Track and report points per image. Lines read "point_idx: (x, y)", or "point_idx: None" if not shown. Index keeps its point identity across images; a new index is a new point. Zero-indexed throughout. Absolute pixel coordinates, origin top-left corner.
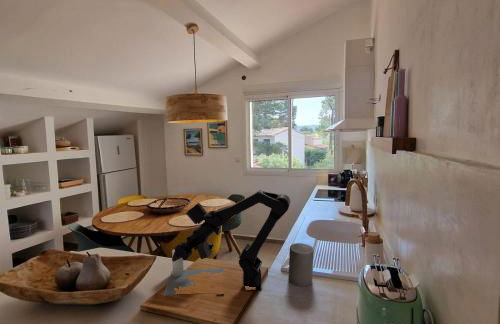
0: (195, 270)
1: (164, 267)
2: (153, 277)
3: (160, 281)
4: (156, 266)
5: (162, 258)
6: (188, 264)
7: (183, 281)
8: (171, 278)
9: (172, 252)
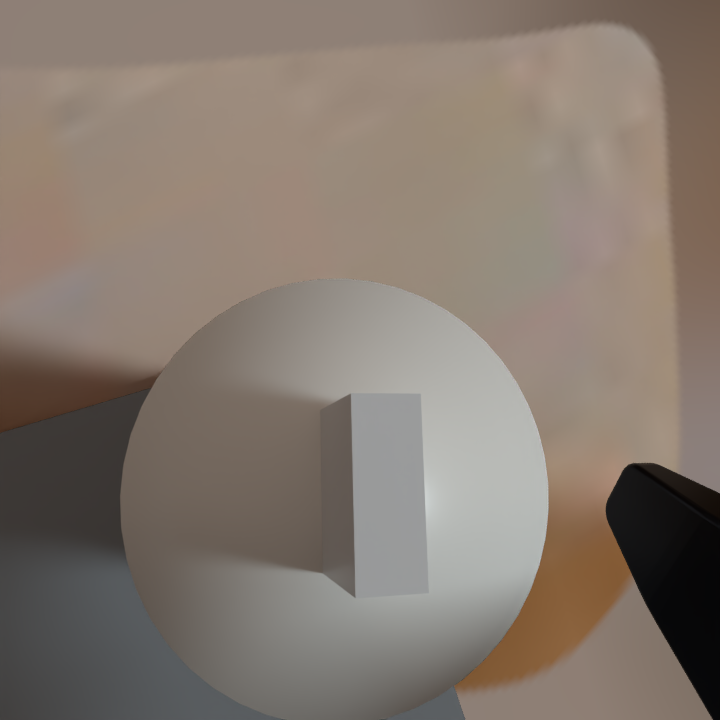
0: (437, 717)
1: (429, 166)
2: (125, 137)
3: (31, 291)
4: (423, 49)
5: (634, 38)
6: (604, 468)
7: (33, 712)
8: (91, 447)
9: (190, 343)
